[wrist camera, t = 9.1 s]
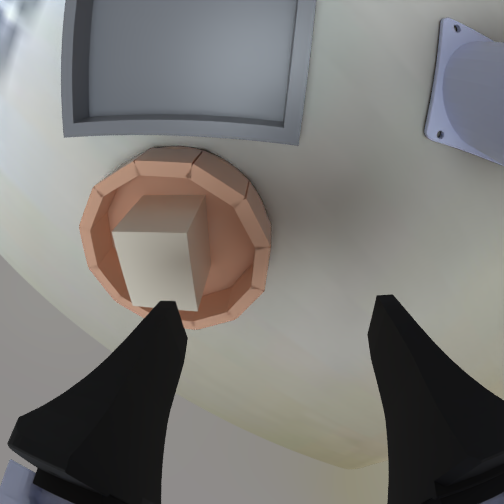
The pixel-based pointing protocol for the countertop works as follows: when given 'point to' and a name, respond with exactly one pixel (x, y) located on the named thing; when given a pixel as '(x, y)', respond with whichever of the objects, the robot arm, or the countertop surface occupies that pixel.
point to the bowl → (219, 228)
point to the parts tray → (186, 68)
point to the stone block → (165, 250)
